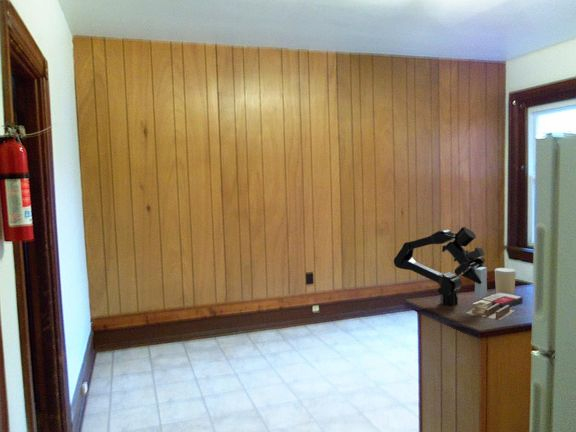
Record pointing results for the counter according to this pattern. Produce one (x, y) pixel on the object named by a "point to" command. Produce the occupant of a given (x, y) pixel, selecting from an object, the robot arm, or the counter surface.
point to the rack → (494, 312)
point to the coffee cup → (505, 280)
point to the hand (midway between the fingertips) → (484, 281)
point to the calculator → (504, 299)
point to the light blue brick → (481, 288)
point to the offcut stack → (481, 306)
